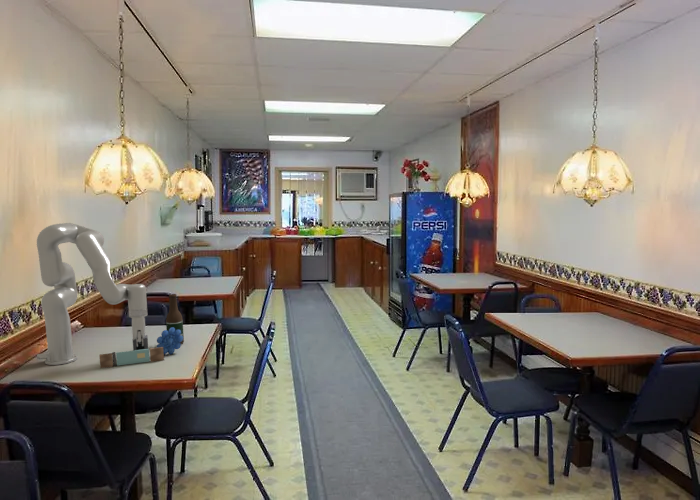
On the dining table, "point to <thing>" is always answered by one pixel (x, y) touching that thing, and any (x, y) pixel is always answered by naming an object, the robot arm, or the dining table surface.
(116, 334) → the dining table surface
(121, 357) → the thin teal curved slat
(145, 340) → the doorstop block
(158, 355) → the brown wooden block
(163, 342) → the grapes
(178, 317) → the beer bottle
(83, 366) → the dining table surface
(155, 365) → the dining table surface
